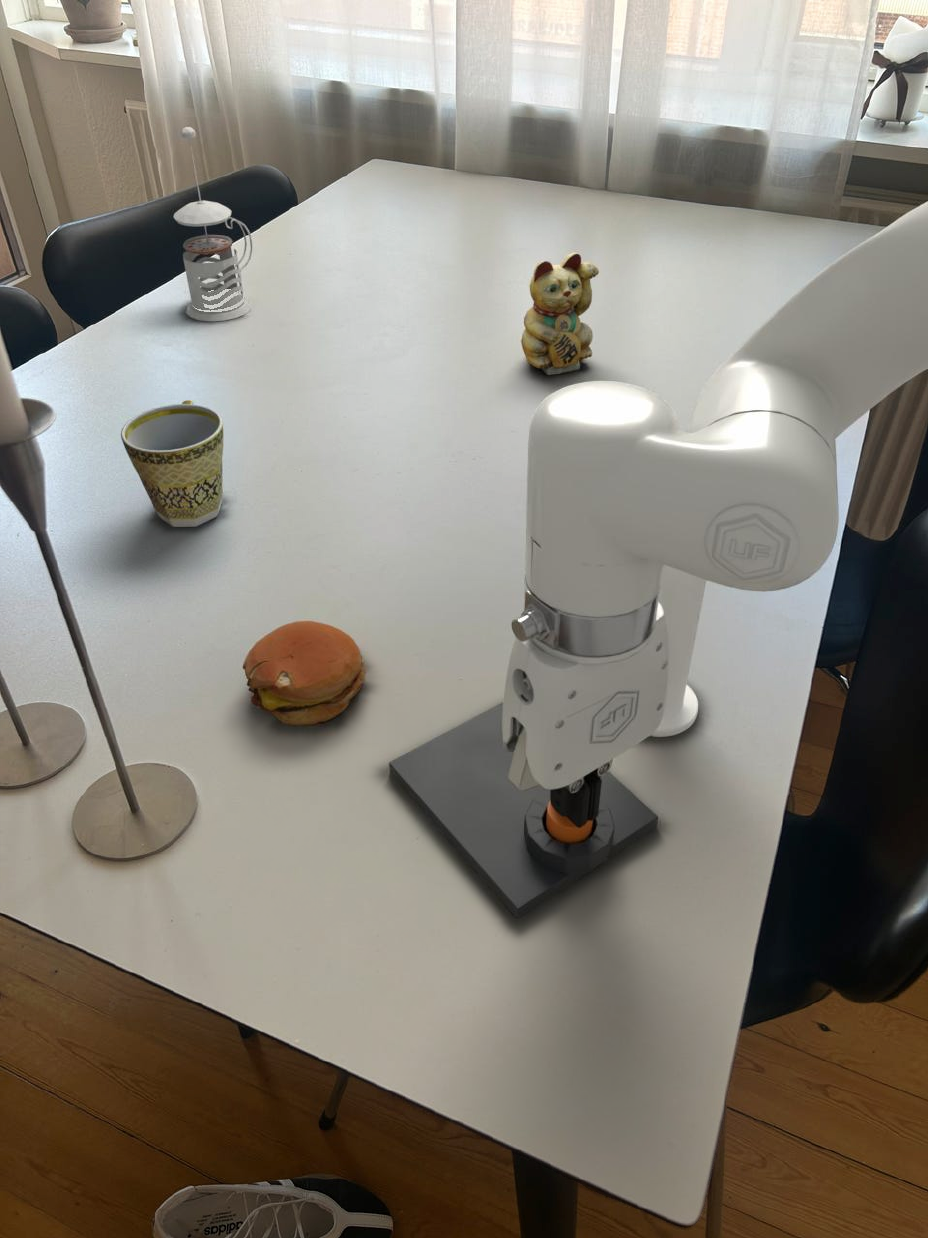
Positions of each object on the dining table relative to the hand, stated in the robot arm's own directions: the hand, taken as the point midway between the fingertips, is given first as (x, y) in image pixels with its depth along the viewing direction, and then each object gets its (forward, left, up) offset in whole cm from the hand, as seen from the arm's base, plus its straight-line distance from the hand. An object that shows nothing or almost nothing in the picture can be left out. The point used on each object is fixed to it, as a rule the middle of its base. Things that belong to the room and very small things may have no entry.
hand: (573, 809), depth 66 cm
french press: (+107, -23, -5) cm, 109 cm away
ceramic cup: (+59, +3, -5) cm, 59 cm away
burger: (+26, +7, -5) cm, 27 cm away
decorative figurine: (+62, -50, -5) cm, 79 cm away
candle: (+7, -15, -5) cm, 17 cm away
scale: (+6, 0, -4) cm, 7 cm away
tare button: (0, 0, -2) cm, 2 cm away
